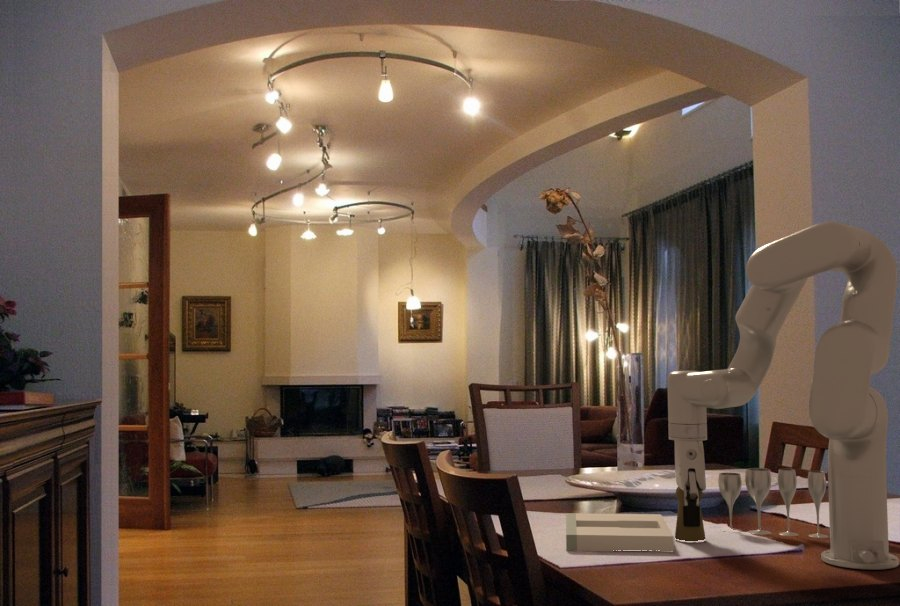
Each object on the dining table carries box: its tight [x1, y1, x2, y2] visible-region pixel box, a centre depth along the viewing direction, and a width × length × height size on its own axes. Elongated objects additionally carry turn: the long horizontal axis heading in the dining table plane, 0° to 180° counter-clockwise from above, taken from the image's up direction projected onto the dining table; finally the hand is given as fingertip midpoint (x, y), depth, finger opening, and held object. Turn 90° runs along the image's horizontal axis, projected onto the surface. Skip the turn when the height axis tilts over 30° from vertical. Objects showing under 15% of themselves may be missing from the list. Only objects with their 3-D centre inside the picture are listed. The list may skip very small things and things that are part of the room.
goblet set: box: [717, 467, 830, 539], centre depth 192 cm, size 28×6×13 cm, turn 67°
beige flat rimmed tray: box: [565, 512, 675, 552], centre depth 188 cm, size 24×20×3 cm
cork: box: [674, 485, 706, 541], centre depth 187 cm, size 6×6×11 cm
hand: (689, 522), depth 187 cm, fingers open, 4 cm apart
